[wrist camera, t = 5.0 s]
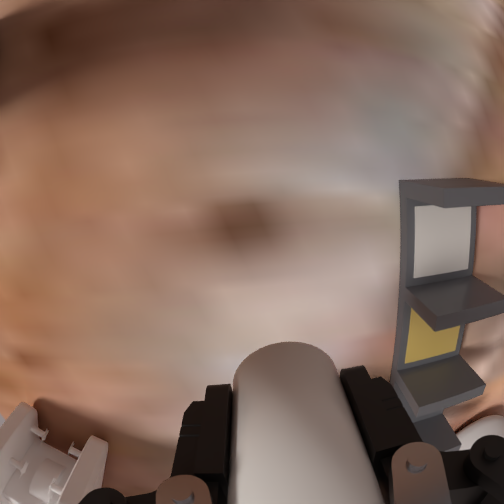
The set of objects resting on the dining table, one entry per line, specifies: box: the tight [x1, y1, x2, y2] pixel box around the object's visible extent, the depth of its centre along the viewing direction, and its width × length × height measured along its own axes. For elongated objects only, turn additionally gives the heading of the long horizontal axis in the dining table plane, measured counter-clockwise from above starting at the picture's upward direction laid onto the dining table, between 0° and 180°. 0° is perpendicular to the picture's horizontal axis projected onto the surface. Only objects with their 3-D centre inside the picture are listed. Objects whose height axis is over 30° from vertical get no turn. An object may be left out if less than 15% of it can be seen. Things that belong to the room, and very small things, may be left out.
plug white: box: [227, 342, 385, 504], centre depth 7 cm, size 4×4×7 cm
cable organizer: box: [0, 402, 108, 504], centre depth 21 cm, size 15×11×12 cm
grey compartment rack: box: [390, 178, 504, 452], centre depth 19 cm, size 22×6×6 cm, turn 7°
